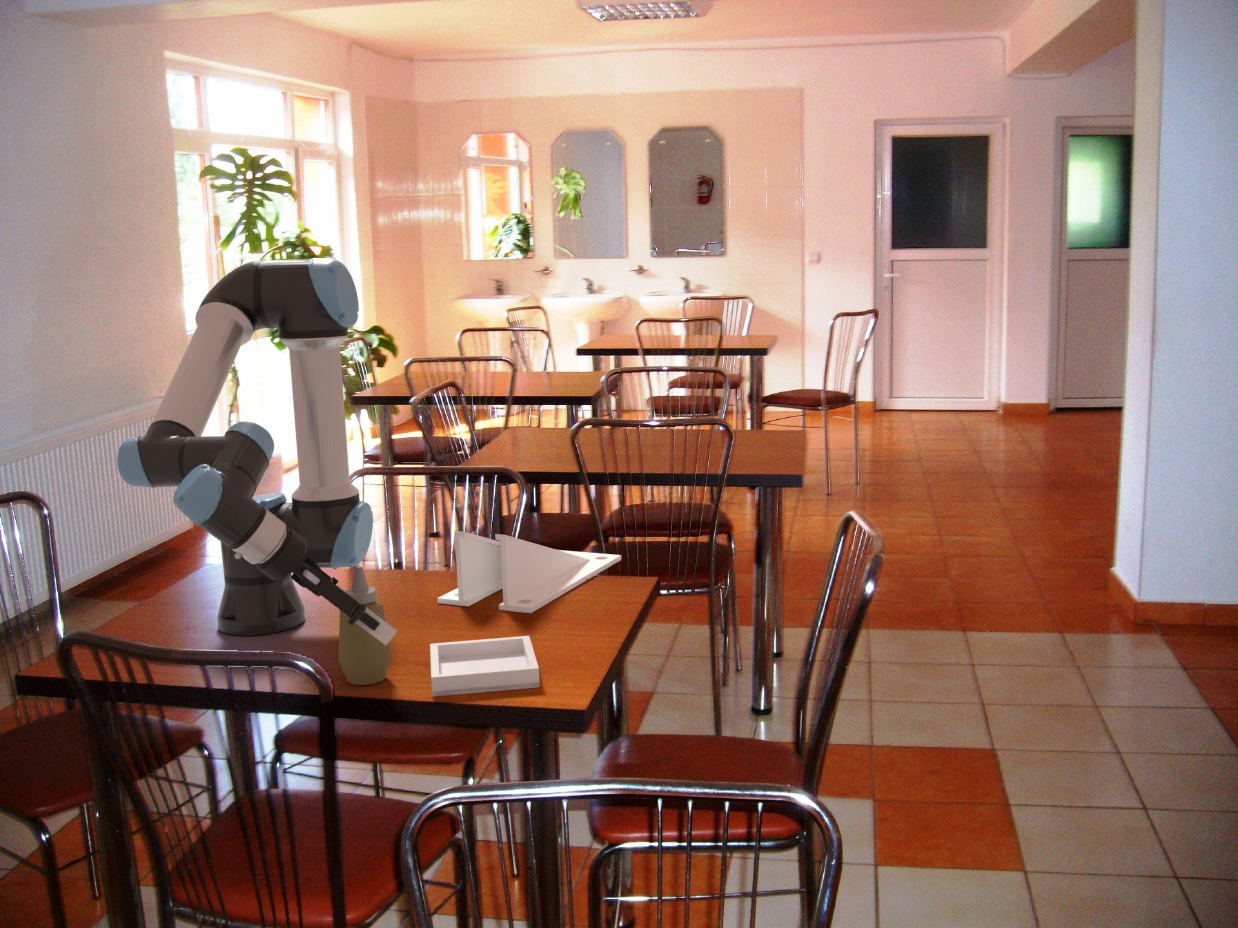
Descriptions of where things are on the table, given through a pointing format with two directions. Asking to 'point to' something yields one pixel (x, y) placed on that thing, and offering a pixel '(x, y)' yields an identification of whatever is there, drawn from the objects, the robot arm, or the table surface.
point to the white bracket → (518, 571)
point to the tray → (483, 666)
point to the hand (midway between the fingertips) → (376, 626)
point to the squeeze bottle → (362, 639)
